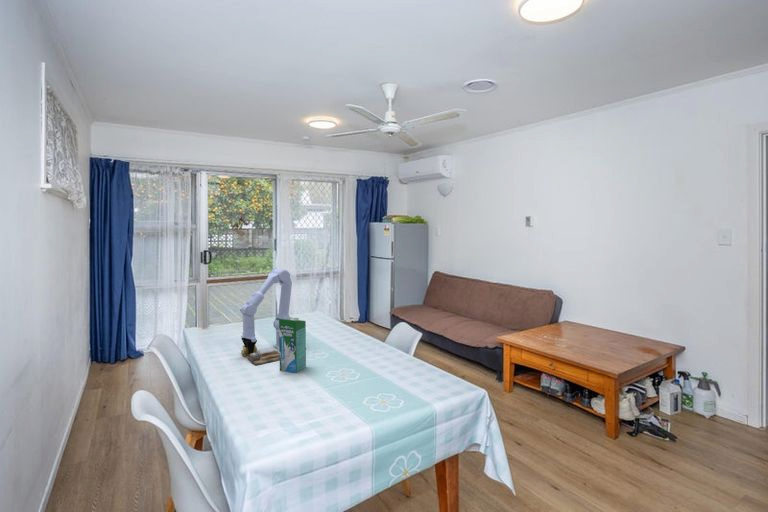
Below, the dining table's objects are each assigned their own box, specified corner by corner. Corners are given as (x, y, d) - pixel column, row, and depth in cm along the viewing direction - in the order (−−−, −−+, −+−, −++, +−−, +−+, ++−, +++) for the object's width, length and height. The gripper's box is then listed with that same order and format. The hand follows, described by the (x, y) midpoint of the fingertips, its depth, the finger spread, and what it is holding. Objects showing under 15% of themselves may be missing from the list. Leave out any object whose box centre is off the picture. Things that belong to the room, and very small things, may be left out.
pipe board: (276, 352, 212) (276, 343, 212) (286, 359, 203) (286, 349, 203) (247, 358, 203) (246, 349, 202) (255, 365, 193) (255, 355, 193)
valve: (255, 352, 212) (254, 341, 212) (257, 354, 209) (257, 343, 209) (241, 355, 208) (240, 344, 207) (243, 357, 204) (243, 346, 204)
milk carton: (306, 366, 193) (305, 316, 191) (296, 373, 184) (295, 320, 182) (290, 364, 196) (289, 314, 194) (279, 370, 187) (278, 318, 185)
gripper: (236, 325, 210) (237, 349, 211) (245, 331, 199) (246, 357, 200) (249, 322, 215) (250, 347, 216) (259, 328, 203) (260, 354, 204)
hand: (249, 352), depth 208 cm, fingers closed on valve, 4 cm apart
